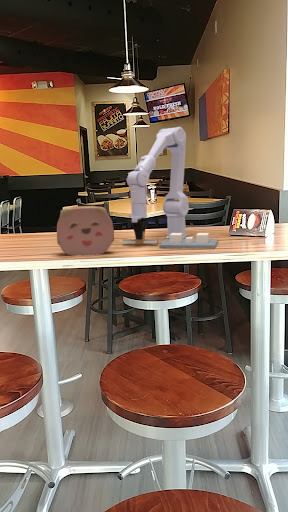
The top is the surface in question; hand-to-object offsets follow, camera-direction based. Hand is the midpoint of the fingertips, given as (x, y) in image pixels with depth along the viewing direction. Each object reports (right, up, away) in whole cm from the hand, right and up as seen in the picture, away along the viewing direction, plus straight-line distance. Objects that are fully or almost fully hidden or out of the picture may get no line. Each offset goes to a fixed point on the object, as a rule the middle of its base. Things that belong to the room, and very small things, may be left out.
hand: (140, 238), depth 169 cm
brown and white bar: (0, -1, 0) cm, 2 cm away
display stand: (+18, -3, -4) cm, 19 cm away
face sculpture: (-19, -6, -13) cm, 24 cm away
